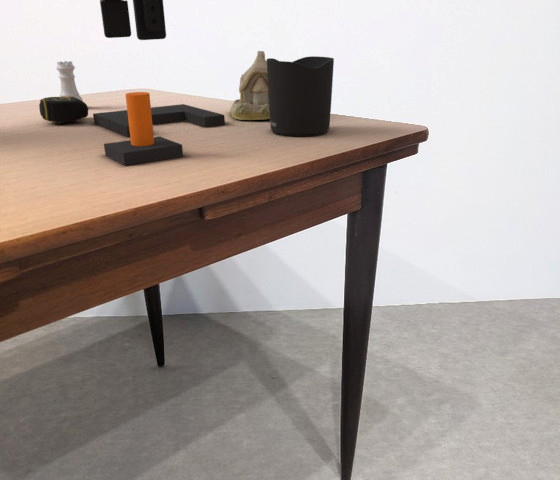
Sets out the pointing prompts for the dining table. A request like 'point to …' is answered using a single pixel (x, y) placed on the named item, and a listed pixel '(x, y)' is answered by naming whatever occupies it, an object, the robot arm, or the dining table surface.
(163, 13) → the robot arm
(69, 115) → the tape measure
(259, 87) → the ceramic model
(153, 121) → the black u-shaped block
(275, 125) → the pen holder
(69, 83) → the rook chess piece
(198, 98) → the dining table surface
